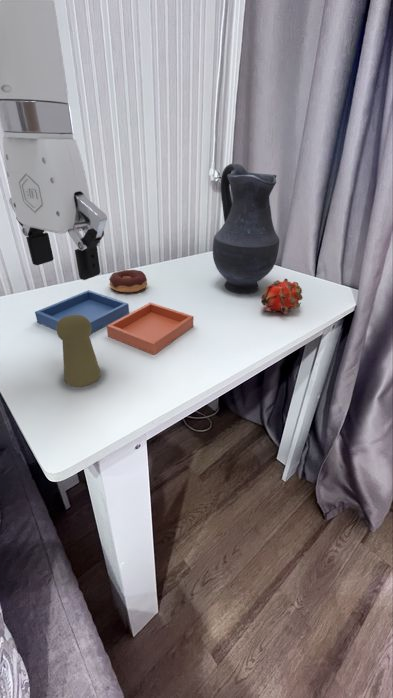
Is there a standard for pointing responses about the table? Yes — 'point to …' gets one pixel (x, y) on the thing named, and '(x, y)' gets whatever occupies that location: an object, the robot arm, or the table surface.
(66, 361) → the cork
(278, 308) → the dragon fruit
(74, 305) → the blue tray
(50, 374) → the table surface
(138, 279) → the donut
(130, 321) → the terracotta tray
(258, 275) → the pitcher
